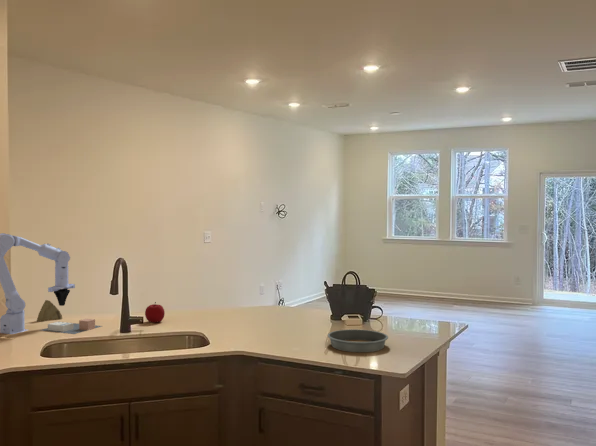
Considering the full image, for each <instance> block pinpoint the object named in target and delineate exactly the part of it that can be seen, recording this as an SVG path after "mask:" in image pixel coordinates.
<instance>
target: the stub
mask: <svg viewBox="0 0 596 446" xmlns="http://www.w3.org/2000/svg"><path fill="white" fill-rule="evenodd" d="M78 324H79V329H81V330H88V331H90V330H94V328H95V325H96V319H93V318H84V319H80V320H79V321H78ZM95 329H96V328H95Z"/></svg>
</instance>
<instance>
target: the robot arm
mask: <svg viewBox="0 0 596 446" xmlns="http://www.w3.org/2000/svg"><path fill="white" fill-rule="evenodd" d="M20 246H21V247H25V248H27V249H30V250H32V251H36V252H37V253H38V255H39V256H40V257H43V258H46V259H48V260H51V261H54V262H55V266H54V285H53V286H50V287H48V288H47V291H48V293H54V295H55V297H56V299H57V302H58V306H60V307H63V306H65V305H66V302H67V298H68V295H69V293H70V292H71V290H70V289H75V288H76V284H75V283H69V262H70V260H71V255H70V254H69V252H67V251H66V250H62V249H61V248H60V247H57V248H56V247H54V246H53V245H52V244H50V243H43V244H39V243H36V242H34V241H31V240H29V239H27V238H24V237H22V236H18V235H17V236H16V235H13V234H10V233H0V285H1V288H2V290H3V293H4V297H5V307H6V308H7V310H6V311H5V314H3V315H1V317H0V334H5V335H6V334H7V335H14V334H18V333H23V332H26V331H28V329H25V308H26V302H25V300H24V299H23V298H22V297H21V296H20V294H19V292H18V291H17V288H16V286H15V283H14V280H13V277H12V275H11V273H10V271H9V268H8V265H7V263H6V259H5V258H4V257H5V256H6V254H7V252H8V251H9V250H11V249H12V247H20Z"/></svg>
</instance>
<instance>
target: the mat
mask: <svg viewBox="0 0 596 446" xmlns="http://www.w3.org/2000/svg"><path fill="white" fill-rule="evenodd" d="M72 323H73V322H72ZM101 327H103V325H96V324H95V328H94V329H97V328H101ZM94 329H93V330H94ZM40 331H43V332H49V333H52V332H53V333H60V334H70V335H76V334H81V333H84V332H87V331H89V330H81V329H79V323H73V329H71V330H68V331H64V332H63V331H53V330H48V327H46V328H42V329H40Z"/></svg>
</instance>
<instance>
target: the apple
mask: <svg viewBox="0 0 596 446" xmlns="http://www.w3.org/2000/svg"><path fill="white" fill-rule="evenodd" d="M144 316H145V318H146V320H147V321H148V322H149V323H153V324H154V323H160V322H162V321H163V320H164V317H165V309H164V307H163V306H162V305H161V304H156V301H155V302H154V303H153V304H152V303H151V304H150V305H148V306H147V307H146V308H145V311H144Z"/></svg>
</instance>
